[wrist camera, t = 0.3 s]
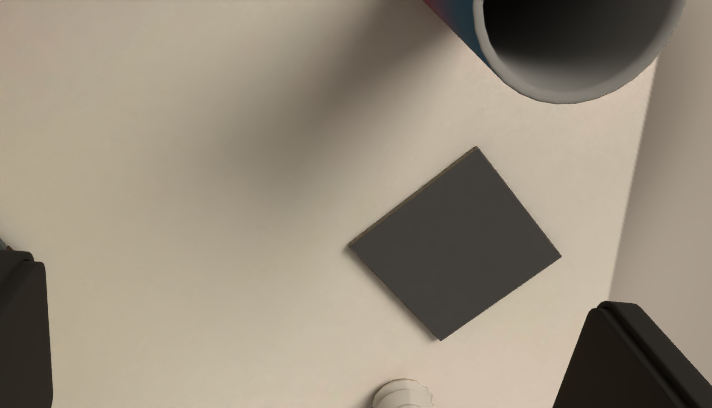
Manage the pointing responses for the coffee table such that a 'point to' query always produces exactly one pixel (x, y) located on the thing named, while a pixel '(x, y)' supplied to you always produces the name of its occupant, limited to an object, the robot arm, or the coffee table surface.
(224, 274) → the coffee table surface
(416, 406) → the rook chess piece
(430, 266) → the coaster
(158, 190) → the coffee table surface
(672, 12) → the cup
